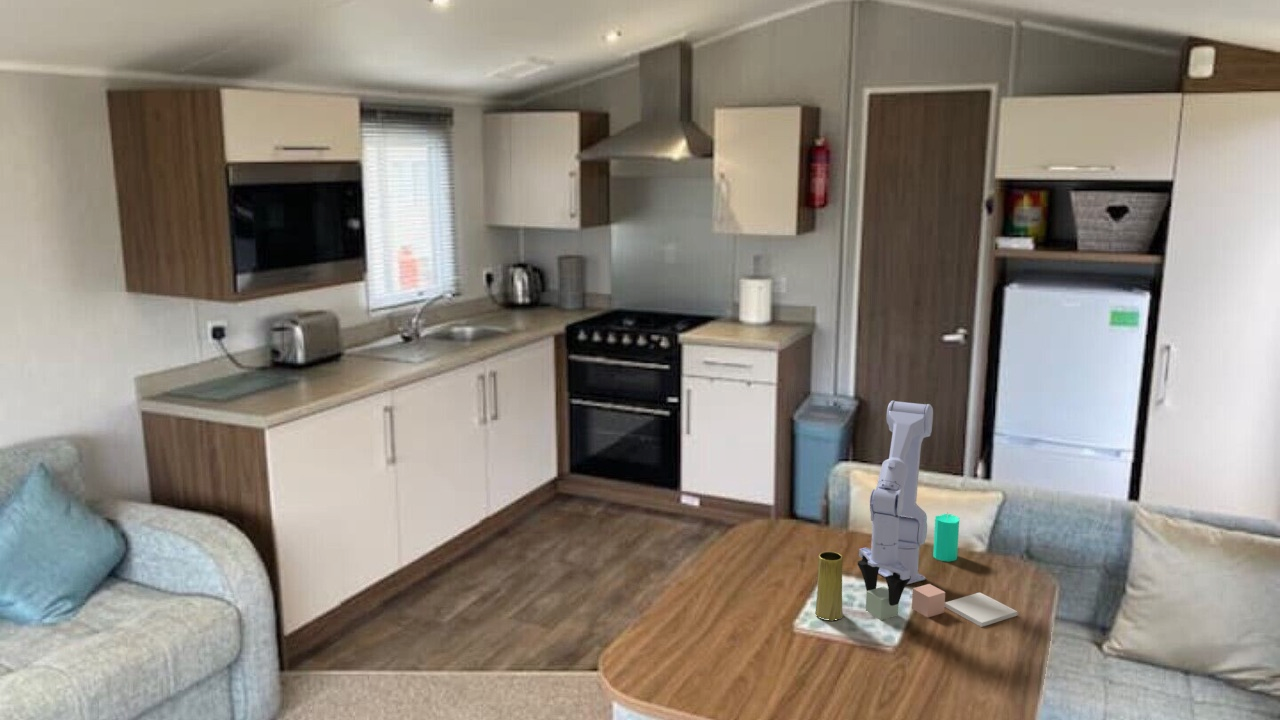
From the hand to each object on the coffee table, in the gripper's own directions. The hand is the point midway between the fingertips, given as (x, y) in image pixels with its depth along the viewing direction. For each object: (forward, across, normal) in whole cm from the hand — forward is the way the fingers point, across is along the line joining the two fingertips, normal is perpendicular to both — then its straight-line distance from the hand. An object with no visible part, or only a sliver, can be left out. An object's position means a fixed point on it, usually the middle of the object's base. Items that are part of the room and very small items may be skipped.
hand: (882, 597), depth 216 cm
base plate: (+4, +10, +20) cm, 23 cm away
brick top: (+4, +4, +10) cm, 12 cm away
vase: (+4, -5, -11) cm, 13 cm away
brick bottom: (+4, 0, 0) cm, 4 cm away
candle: (+4, -16, +35) cm, 39 cm away
